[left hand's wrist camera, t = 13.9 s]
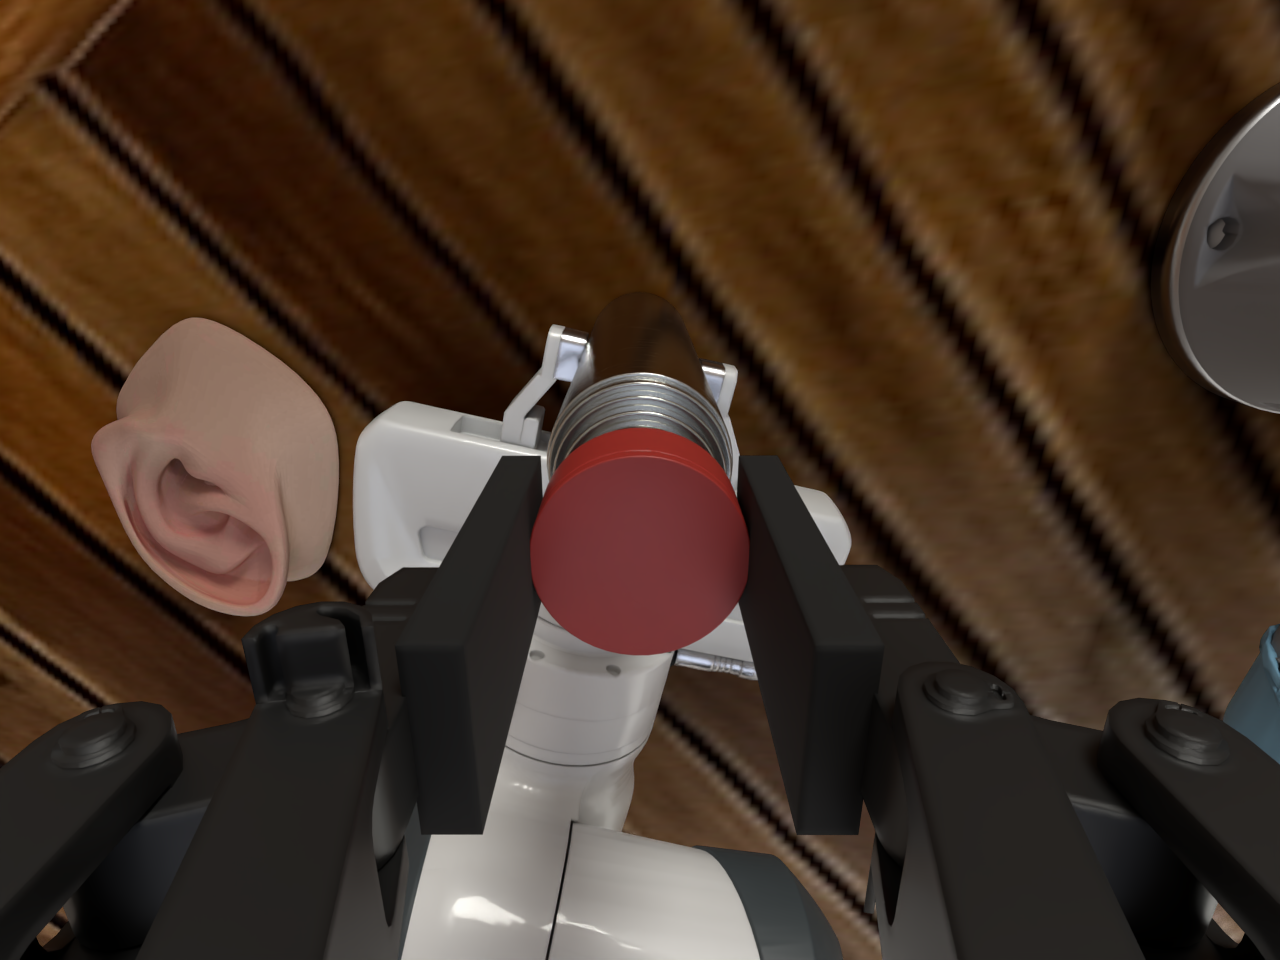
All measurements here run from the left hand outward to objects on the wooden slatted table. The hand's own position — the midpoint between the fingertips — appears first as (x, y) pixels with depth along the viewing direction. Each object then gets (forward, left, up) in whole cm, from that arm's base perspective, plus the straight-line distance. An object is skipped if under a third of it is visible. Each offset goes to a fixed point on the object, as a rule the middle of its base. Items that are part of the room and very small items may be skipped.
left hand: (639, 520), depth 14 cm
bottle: (0, 0, -21) cm, 21 cm away
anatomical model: (+9, +20, -21) cm, 30 cm away
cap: (0, 0, +1) cm, 1 cm away
